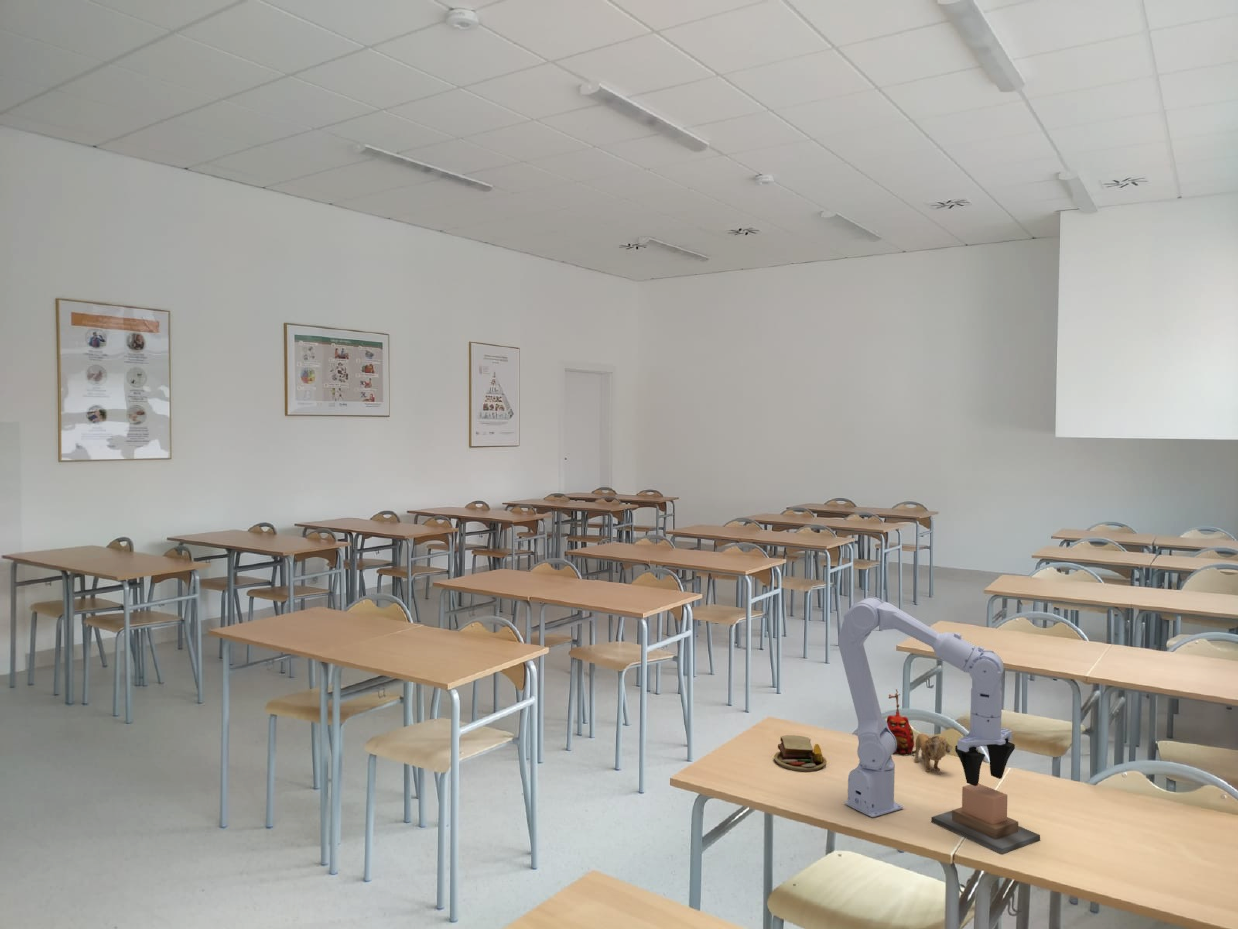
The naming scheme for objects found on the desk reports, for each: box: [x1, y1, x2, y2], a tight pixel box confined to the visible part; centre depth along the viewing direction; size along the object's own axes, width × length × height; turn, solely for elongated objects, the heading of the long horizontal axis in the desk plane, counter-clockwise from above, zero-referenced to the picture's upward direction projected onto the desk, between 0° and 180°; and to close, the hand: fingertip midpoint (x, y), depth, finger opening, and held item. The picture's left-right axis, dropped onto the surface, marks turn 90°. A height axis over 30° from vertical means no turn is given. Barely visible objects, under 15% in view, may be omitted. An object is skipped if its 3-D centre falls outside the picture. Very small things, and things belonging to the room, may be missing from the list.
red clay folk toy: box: [886, 689, 915, 755], centre depth 215 cm, size 8×7×15 cm
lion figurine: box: [911, 733, 954, 773], centre depth 205 cm, size 15×5×9 cm, turn 11°
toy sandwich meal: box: [773, 734, 827, 772], centre depth 207 cm, size 12×14×5 cm
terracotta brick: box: [961, 782, 1008, 825], centre depth 170 cm, size 4×7×5 cm, turn 30°
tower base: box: [930, 806, 1041, 855], centre depth 170 cm, size 12×16×3 cm
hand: (984, 780), depth 170 cm, fingers open, 7 cm apart
